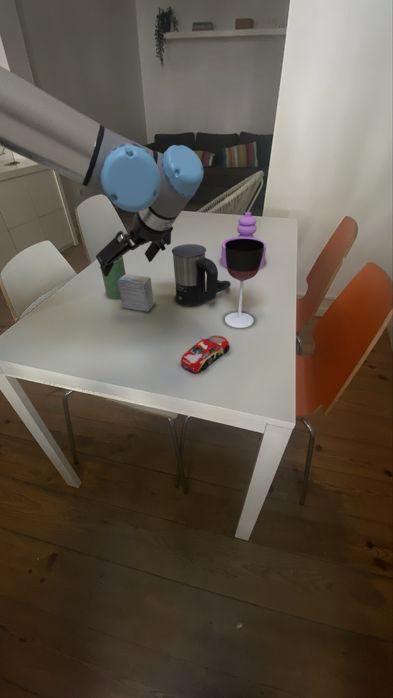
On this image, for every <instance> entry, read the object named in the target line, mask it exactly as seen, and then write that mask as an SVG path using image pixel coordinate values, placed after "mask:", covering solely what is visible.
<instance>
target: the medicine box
mask: <svg viewBox="0 0 393 698" xmlns="http://www.w3.org/2000/svg"><path fill="white" fill-rule="evenodd" d="M118 285H119V290H120V296H121V298H120V301H121V305H122V306H121V307H122V308H123V309H129V310H134V311H140V312H145V313H148V312H149V311H150V310H151V308H152V307H153V306H155V303H154V302H155V301H154V294H153V286H152V278H151V277H149V276H142V275H138V274H137V275H136V274H130V273H129V274H127V273H126V274H125V275H124V276H122V277H121V278H120V279H119V280H118Z"/></svg>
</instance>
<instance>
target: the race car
mask: <svg viewBox="0 0 393 698" xmlns="http://www.w3.org/2000/svg"><path fill="white" fill-rule="evenodd" d="M229 349H230V343H229V340H228V339H227V338H226V337H224V336H221V335H211V336H209V337H207V338H201V340H199V341H198V342H196V343H195V344H194V345H193V346H191V347H190V348H189V349H188V350H187V351H186V352H184V354H182V356H181V359H180V366H181V367H182V368H184V369H185V370H187V371H189V372H191V373H200V372H202V371H204V370H206V369H207V367H208V366H210V365H211V364H212V363H214V362H215V361H216V360H217V359H218V358H220V357H221V356H222V355H224V354H226V353H228V352H229Z"/></svg>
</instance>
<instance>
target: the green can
mask: <svg viewBox="0 0 393 698" xmlns="http://www.w3.org/2000/svg"><path fill="white" fill-rule="evenodd" d="M113 263H114V265H113V267H112V269H111V271H110V273H109V275H108V276H106V277H105V276H104V274H103V272H102V270H101V269H100V270H101V271H100V272H101V276H102V280H103V284H104V290H105V294H106V296H107V298H109V299H113V300H116V299H117V300H118V299H121V296H120V290H119V285H118V280H119V279H120V278H121V277H122V276H124V275H125V274H127V273H126V267H125V261H124V255H123V256H121V257H120V258H118V259H117V260H116V261H114V262H113ZM100 266H101V265H100V264H99V267H100Z"/></svg>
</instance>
